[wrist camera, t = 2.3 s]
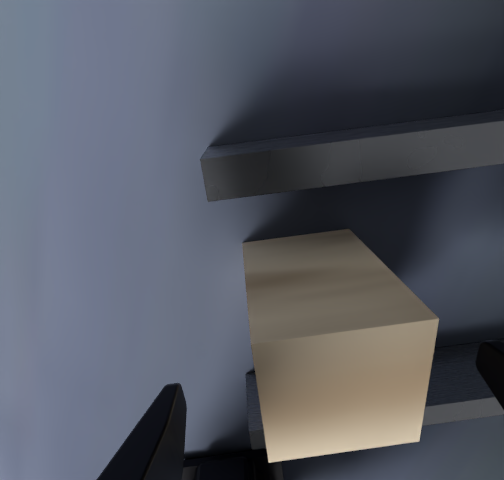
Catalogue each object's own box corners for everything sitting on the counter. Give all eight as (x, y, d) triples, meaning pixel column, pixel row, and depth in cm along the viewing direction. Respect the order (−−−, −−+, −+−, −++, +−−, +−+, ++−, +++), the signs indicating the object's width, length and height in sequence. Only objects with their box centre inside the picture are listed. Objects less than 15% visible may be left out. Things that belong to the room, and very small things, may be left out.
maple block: (347, 315, 14) (419, 441, 9) (254, 328, 14) (268, 462, 9) (348, 228, 13) (439, 318, 7) (242, 242, 13) (250, 344, 7)
